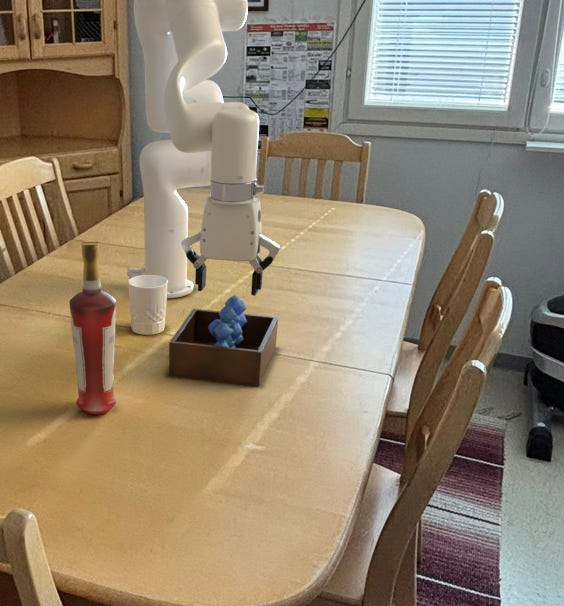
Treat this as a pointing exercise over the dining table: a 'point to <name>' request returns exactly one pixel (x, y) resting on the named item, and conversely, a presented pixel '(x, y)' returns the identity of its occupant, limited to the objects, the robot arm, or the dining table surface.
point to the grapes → (229, 323)
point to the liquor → (93, 337)
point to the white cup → (147, 303)
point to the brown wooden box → (222, 350)
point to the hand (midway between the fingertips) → (228, 291)
